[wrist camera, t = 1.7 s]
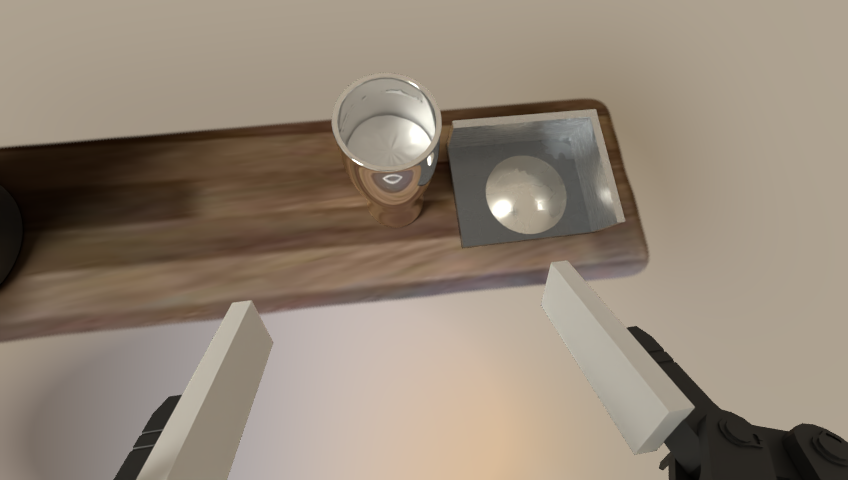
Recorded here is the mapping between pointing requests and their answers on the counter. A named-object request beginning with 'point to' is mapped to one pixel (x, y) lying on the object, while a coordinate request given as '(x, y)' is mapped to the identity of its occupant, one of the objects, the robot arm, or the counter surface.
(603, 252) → the counter surface
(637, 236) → the counter surface
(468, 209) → the tray
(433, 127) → the beer glass
